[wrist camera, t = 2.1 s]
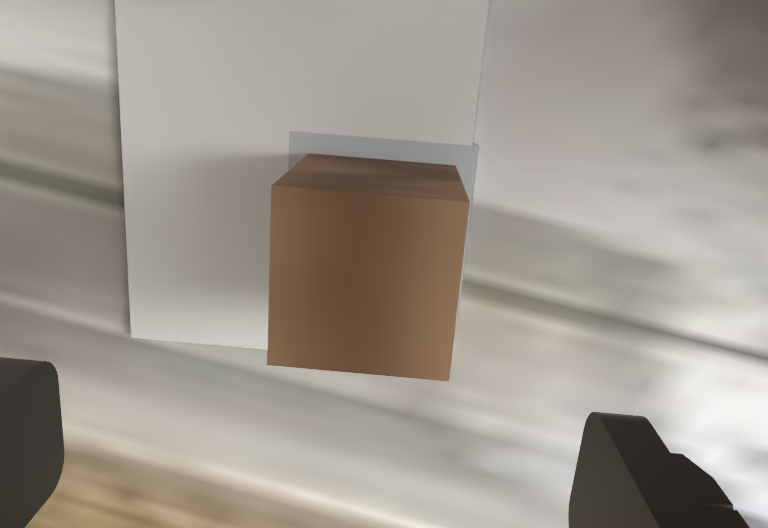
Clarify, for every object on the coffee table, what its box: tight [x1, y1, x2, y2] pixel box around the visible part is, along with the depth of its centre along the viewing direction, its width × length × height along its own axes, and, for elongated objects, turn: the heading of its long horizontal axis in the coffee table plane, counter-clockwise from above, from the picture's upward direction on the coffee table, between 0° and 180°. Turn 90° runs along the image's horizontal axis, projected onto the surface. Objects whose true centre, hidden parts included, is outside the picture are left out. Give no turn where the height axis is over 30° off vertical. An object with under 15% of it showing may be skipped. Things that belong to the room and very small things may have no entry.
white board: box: [115, 0, 490, 350], centre depth 21 cm, size 12×22×1 cm, turn 176°
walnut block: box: [267, 153, 470, 381], centre depth 20 cm, size 5×5×6 cm
